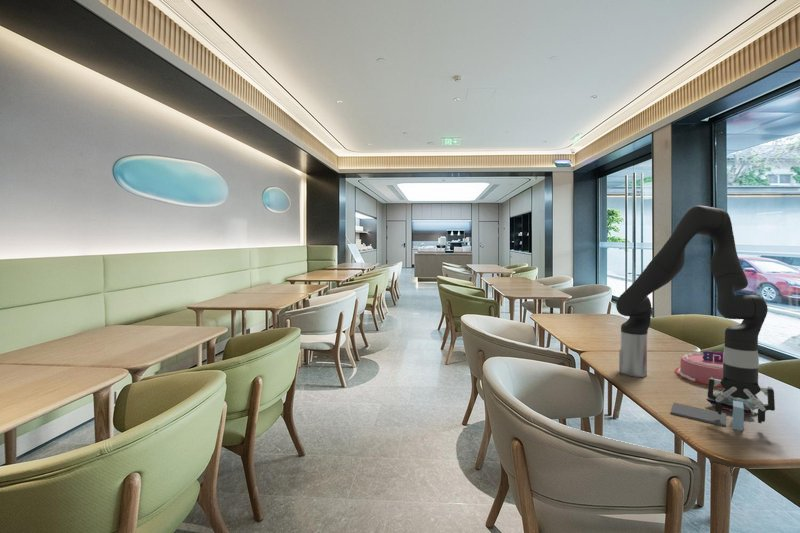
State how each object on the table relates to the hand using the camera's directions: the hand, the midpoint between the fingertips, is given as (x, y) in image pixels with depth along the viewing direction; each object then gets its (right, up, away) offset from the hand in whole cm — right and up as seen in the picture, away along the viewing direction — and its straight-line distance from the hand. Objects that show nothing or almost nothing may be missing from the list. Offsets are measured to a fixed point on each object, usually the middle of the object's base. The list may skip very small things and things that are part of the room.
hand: (739, 417), depth 106 cm
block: (0, -2, 0) cm, 2 cm away
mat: (-6, -2, +7) cm, 10 cm away
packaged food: (+8, -2, +11) cm, 14 cm away
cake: (+26, 0, +38) cm, 46 cm away
